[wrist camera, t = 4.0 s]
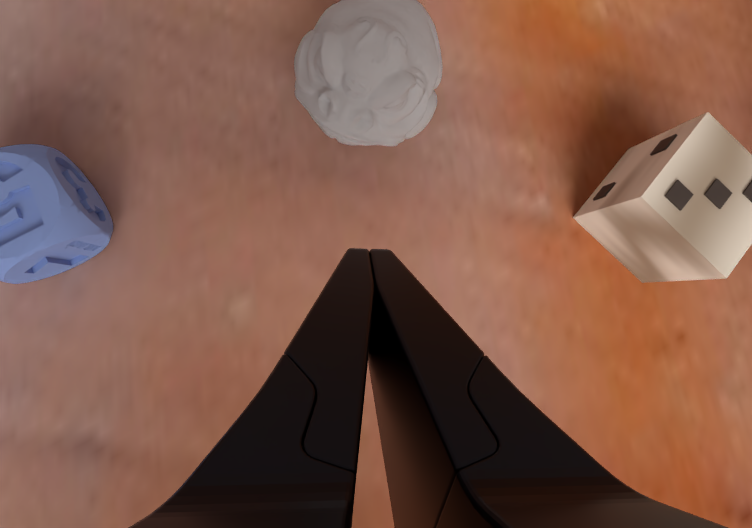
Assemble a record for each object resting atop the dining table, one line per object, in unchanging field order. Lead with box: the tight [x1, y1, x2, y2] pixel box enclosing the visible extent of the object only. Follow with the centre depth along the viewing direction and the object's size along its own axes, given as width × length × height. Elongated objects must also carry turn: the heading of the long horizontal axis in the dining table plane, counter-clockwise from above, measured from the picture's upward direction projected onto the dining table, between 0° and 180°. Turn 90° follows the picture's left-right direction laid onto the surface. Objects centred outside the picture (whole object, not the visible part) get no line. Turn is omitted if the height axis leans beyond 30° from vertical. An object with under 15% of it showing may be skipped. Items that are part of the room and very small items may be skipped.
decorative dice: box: [0, 144, 113, 284], centre depth 18 cm, size 4×4×4 cm
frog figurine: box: [294, 0, 442, 146], centre depth 19 cm, size 6×7×7 cm
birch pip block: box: [573, 112, 752, 283], centre depth 22 cm, size 5×5×5 cm
